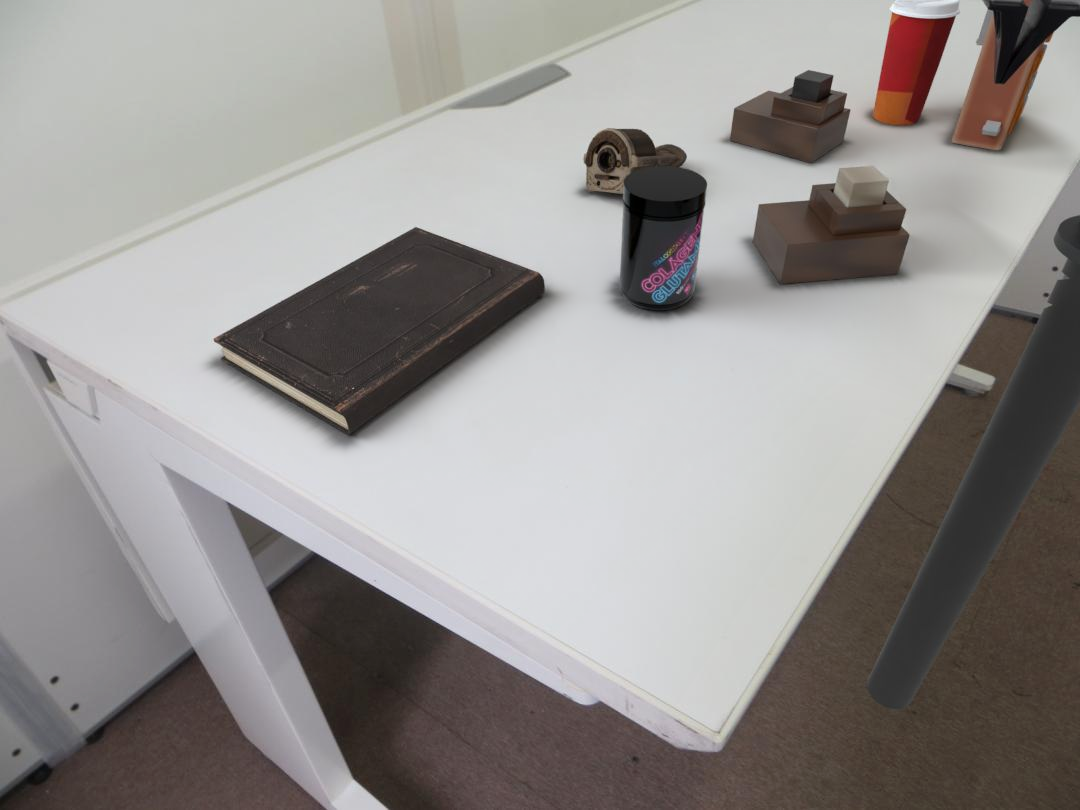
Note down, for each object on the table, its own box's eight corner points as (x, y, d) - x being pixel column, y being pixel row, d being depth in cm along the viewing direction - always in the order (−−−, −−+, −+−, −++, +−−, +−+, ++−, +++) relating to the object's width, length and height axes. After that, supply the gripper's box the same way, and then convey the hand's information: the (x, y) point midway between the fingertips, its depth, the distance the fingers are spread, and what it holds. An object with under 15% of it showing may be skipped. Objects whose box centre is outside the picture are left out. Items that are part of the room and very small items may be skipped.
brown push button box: (860, 233, 75) (876, 175, 71) (898, 274, 69) (917, 213, 65) (752, 241, 74) (761, 183, 71) (780, 284, 68) (792, 223, 64)
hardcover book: (221, 361, 62) (213, 338, 61) (418, 247, 76) (415, 226, 74) (352, 438, 55) (345, 414, 53) (545, 296, 68) (544, 274, 67)
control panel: (1023, 115, 97) (1004, 156, 88) (964, 106, 100) (940, 145, 91) (1098, -82, 83) (1085, -58, 74) (1027, -85, 86) (1005, -62, 77)
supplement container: (622, 315, 65) (627, 203, 59) (615, 275, 71) (619, 167, 64) (700, 312, 65) (715, 199, 59) (687, 272, 71) (699, 164, 64)
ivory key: (866, 192, 70) (873, 165, 68) (881, 207, 67) (889, 180, 65) (832, 194, 69) (838, 167, 68) (846, 210, 67) (853, 182, 65)
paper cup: (915, 106, 101) (949, -12, 91) (937, 127, 95) (974, 4, 86) (855, 107, 101) (883, -10, 92) (873, 129, 95) (904, 6, 86)
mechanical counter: (561, 129, 84) (599, 140, 76) (662, 99, 87) (710, 106, 78) (573, 193, 88) (611, 210, 79) (669, 162, 90) (716, 175, 82)
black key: (829, 97, 88) (834, 75, 87) (815, 105, 87) (820, 82, 85) (804, 92, 90) (808, 69, 88) (790, 99, 88) (794, 76, 87)
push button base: (843, 142, 92) (854, 91, 88) (811, 163, 88) (821, 111, 84) (763, 121, 98) (771, 73, 94) (729, 140, 94) (736, 90, 90)
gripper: (1178, -132, 63) (1088, 64, 73) (939, -141, 67) (885, 48, 77) (1232, -114, 55) (1121, 104, 65) (956, -124, 59) (893, 84, 69)
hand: (998, 82), depth 69 cm, fingers closed
